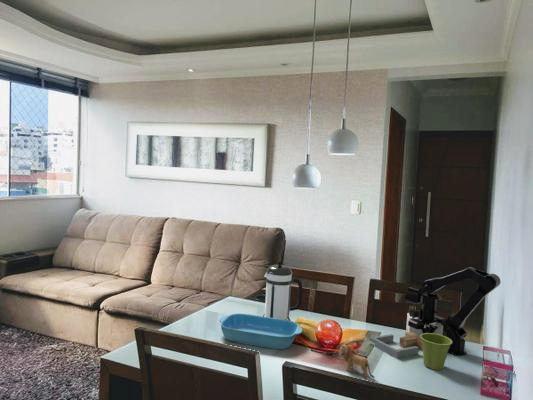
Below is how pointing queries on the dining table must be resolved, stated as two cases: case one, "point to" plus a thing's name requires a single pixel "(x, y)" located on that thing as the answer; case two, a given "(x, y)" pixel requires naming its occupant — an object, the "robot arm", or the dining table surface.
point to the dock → (390, 350)
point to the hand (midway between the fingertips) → (426, 341)
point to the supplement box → (419, 332)
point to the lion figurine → (354, 359)
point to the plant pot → (435, 350)
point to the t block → (411, 341)
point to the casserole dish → (259, 330)
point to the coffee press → (280, 292)
